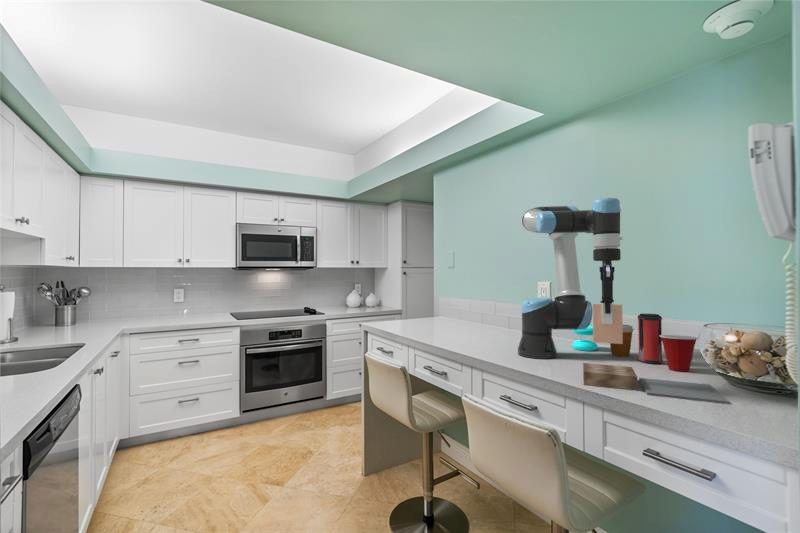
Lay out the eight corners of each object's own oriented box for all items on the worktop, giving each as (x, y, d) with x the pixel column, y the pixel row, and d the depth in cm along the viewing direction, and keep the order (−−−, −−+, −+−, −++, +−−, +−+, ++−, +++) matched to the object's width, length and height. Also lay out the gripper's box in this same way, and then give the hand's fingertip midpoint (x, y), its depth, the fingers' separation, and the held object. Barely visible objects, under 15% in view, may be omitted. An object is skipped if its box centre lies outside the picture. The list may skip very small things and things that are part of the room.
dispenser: (583, 384, 116) (583, 370, 116) (583, 374, 126) (583, 361, 126) (637, 390, 110) (637, 375, 110) (632, 379, 120) (631, 366, 120)
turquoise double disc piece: (590, 324, 172) (601, 328, 162) (590, 346, 172) (602, 351, 162) (568, 324, 172) (578, 328, 162) (568, 346, 172) (578, 351, 162)
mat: (647, 394, 106) (647, 392, 106) (639, 379, 120) (639, 377, 120) (729, 404, 98) (729, 401, 98) (709, 386, 113) (709, 384, 113)
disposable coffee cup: (626, 352, 159) (626, 324, 159) (638, 357, 150) (638, 327, 150) (603, 352, 160) (602, 323, 160) (613, 357, 150) (613, 327, 151)
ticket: (593, 342, 119) (592, 304, 120) (593, 341, 121) (592, 303, 121) (622, 344, 116) (622, 304, 116) (622, 343, 117) (621, 304, 117)
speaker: (633, 359, 146) (632, 313, 146) (652, 359, 147) (651, 312, 147) (647, 364, 139) (647, 315, 139) (667, 364, 139) (667, 315, 139)
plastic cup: (689, 366, 135) (688, 333, 136) (704, 375, 125) (704, 338, 125) (654, 365, 138) (654, 332, 138) (666, 372, 128) (666, 337, 128)
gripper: (622, 246, 110) (623, 327, 110) (618, 248, 123) (619, 321, 123) (593, 247, 114) (594, 326, 113) (592, 249, 126) (593, 320, 126)
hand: (607, 323), depth 118 cm, fingers closed on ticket
